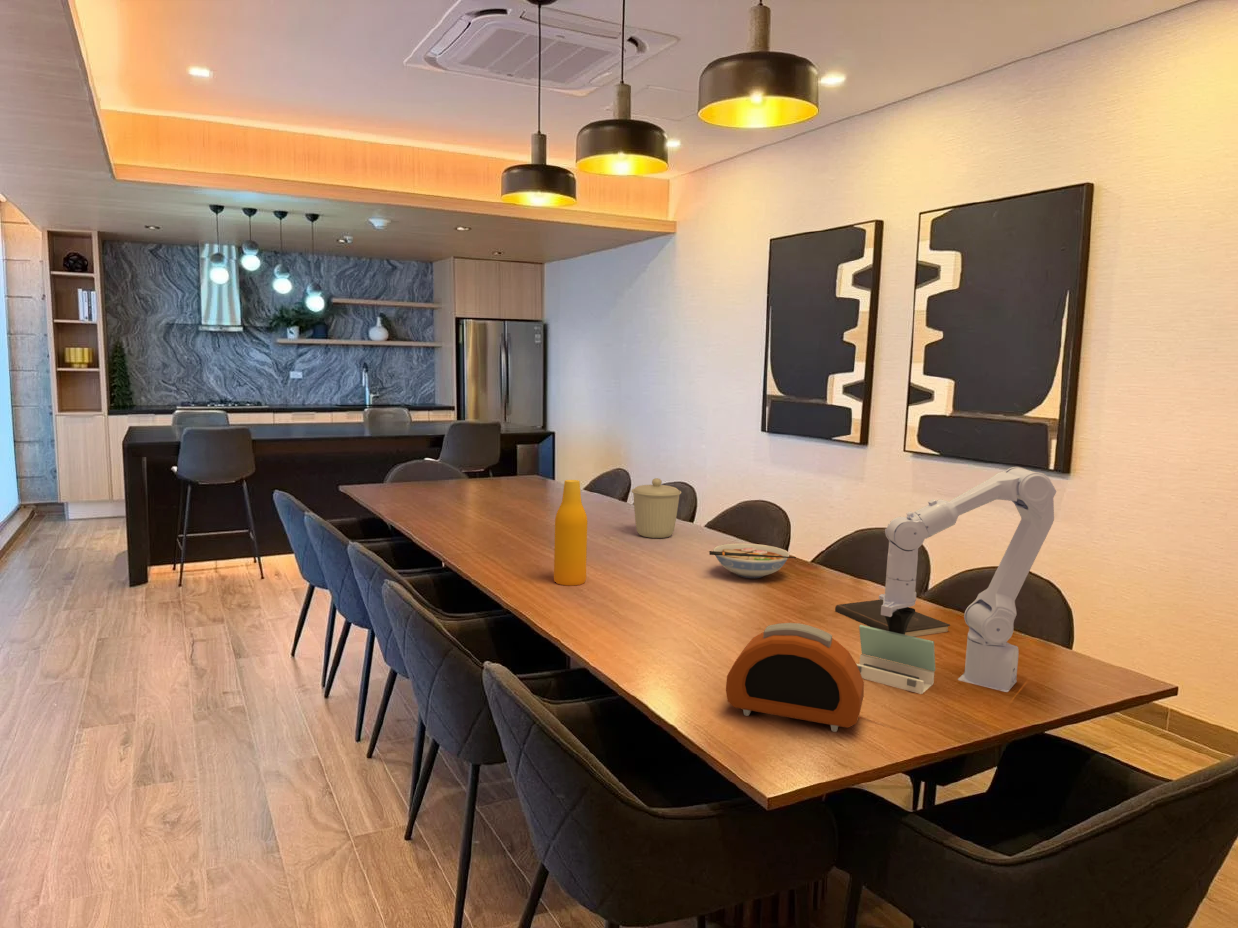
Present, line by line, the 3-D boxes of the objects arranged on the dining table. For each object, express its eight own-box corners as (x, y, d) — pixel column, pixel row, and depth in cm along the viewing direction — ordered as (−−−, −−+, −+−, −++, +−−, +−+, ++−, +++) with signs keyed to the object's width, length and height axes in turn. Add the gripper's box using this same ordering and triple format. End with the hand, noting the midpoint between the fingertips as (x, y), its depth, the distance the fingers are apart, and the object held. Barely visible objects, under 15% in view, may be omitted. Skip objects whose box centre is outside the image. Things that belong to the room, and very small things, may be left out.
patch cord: (918, 684, 164) (919, 675, 164) (915, 687, 163) (916, 678, 162) (865, 670, 171) (865, 662, 170) (861, 673, 169) (862, 664, 169)
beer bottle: (566, 587, 228) (569, 484, 225) (547, 580, 235) (548, 479, 232) (592, 582, 234) (595, 481, 231) (572, 575, 241) (574, 477, 238)
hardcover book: (882, 607, 221) (883, 598, 220) (949, 633, 200) (950, 624, 200) (834, 613, 214) (835, 604, 214) (898, 641, 193) (899, 631, 193)
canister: (626, 539, 294) (628, 480, 291) (634, 529, 311) (635, 473, 309) (677, 542, 291) (679, 483, 288) (681, 532, 309) (684, 476, 306)
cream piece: (933, 686, 165) (934, 671, 164) (920, 697, 159) (921, 682, 158) (860, 667, 174) (861, 653, 174) (846, 677, 168) (847, 663, 168)
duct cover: (934, 671, 165) (935, 669, 165) (932, 643, 162) (933, 641, 162) (861, 653, 174) (862, 651, 174) (859, 626, 171) (860, 624, 171)
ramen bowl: (788, 568, 258) (789, 542, 257) (796, 588, 235) (798, 559, 234) (707, 564, 260) (709, 538, 259) (708, 583, 238) (709, 555, 237)
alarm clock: (723, 713, 149) (727, 623, 147) (734, 695, 158) (739, 610, 156) (857, 737, 141) (864, 643, 139) (862, 717, 149) (868, 627, 147)
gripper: (894, 567, 174) (889, 629, 176) (867, 580, 163) (863, 646, 165) (928, 573, 170) (923, 637, 172) (903, 587, 158) (898, 655, 160)
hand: (896, 642), depth 168 cm, fingers closed, pressing on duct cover
